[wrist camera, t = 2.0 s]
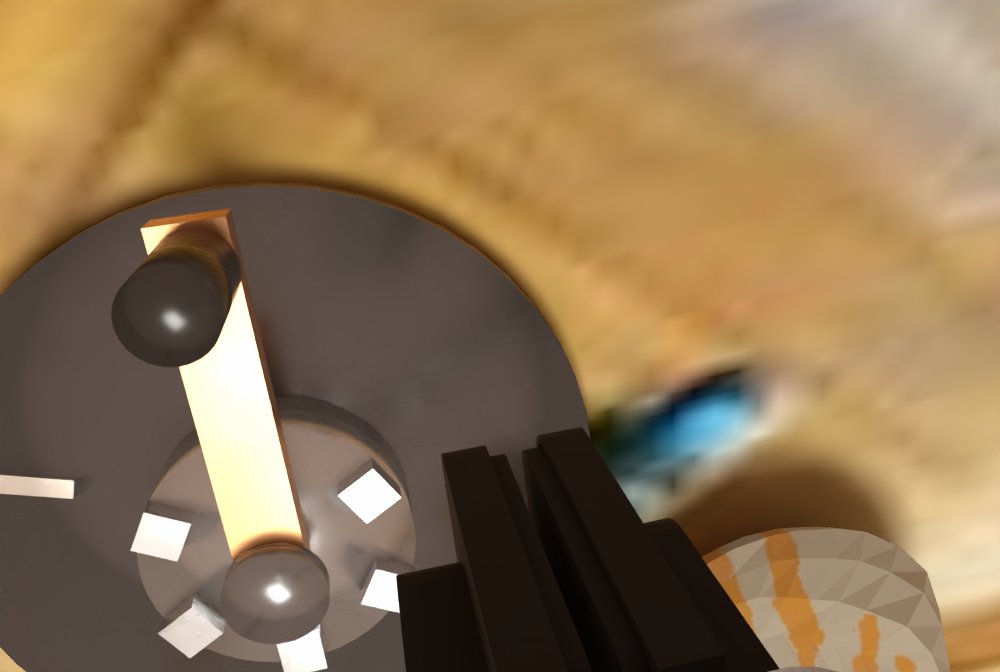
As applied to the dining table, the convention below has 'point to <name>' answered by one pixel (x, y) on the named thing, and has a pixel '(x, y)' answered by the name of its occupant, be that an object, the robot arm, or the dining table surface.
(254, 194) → the dark gray metal disc
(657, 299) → the dining table surface
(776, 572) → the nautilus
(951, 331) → the dining table surface
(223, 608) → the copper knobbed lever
